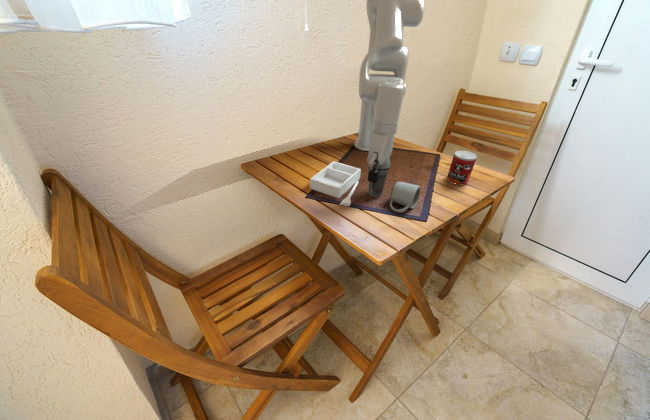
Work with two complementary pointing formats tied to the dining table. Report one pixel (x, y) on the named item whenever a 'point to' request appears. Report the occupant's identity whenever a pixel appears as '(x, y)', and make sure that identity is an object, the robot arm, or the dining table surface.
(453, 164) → the canned food
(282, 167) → the dining table surface
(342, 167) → the divided tray
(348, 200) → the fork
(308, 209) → the dining table surface
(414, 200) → the ceramic mug
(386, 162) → the beverage cup
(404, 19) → the robot arm
